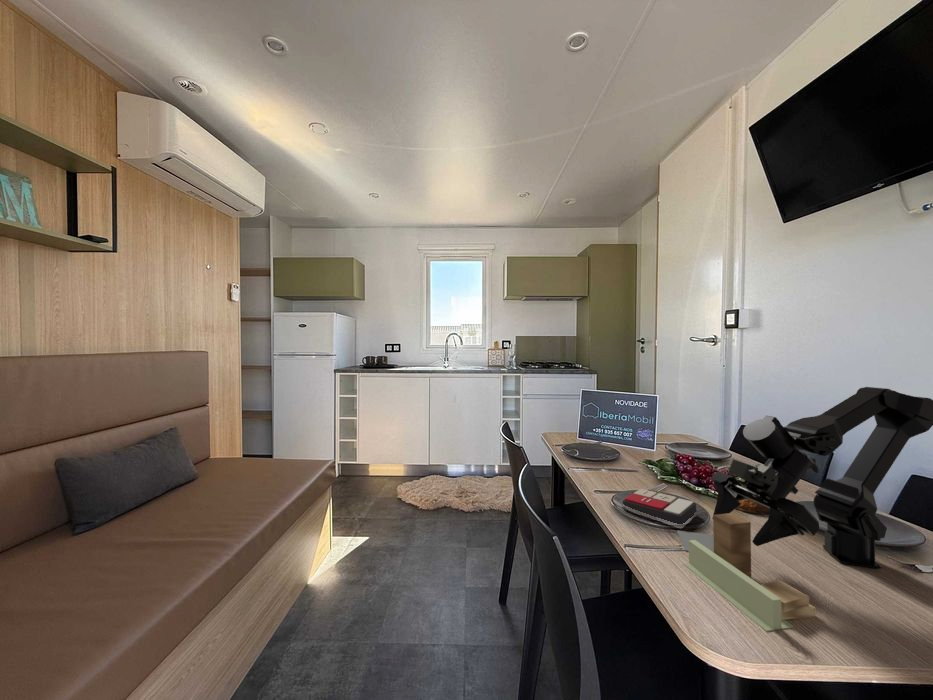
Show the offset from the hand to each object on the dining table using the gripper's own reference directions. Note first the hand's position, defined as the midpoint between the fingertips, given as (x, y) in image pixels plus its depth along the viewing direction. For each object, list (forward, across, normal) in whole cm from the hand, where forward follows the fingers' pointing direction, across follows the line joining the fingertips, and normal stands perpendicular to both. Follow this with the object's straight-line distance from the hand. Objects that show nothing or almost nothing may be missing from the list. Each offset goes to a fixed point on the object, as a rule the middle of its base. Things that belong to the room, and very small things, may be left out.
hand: (733, 531), depth 72 cm
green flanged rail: (+10, +5, +2) cm, 11 cm away
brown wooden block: (+6, 0, +6) cm, 8 cm away
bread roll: (-15, -25, +27) cm, 40 cm away
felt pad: (+4, -10, +8) cm, 13 cm away
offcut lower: (+6, +10, +6) cm, 13 cm away
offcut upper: (+5, +10, +4) cm, 12 cm away
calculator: (+4, -26, +8) cm, 28 cm away
